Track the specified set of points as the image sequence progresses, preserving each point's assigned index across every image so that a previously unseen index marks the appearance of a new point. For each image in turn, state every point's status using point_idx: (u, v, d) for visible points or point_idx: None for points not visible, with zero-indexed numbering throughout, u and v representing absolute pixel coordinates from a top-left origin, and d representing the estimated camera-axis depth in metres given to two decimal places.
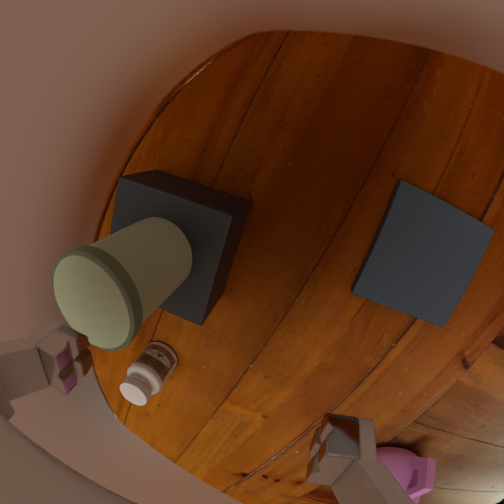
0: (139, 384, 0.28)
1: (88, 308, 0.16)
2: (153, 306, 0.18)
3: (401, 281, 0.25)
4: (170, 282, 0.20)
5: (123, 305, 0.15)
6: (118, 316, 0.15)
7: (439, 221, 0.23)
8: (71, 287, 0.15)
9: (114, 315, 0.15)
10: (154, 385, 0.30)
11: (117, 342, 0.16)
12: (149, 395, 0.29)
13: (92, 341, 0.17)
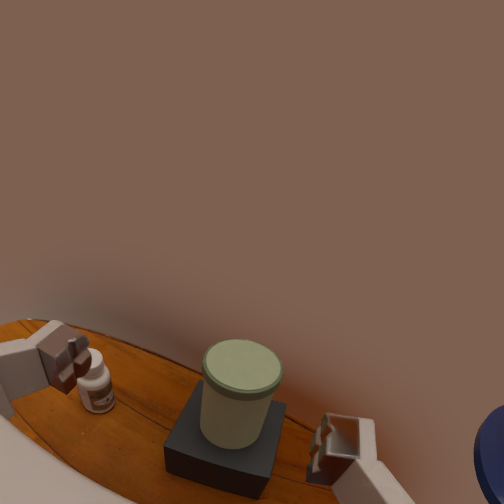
0: (97, 370, 0.28)
1: (240, 362, 0.23)
2: (226, 410, 0.22)
3: None
4: (232, 427, 0.22)
5: (252, 387, 0.21)
6: (240, 382, 0.21)
7: None
8: (254, 354, 0.24)
9: (240, 379, 0.22)
10: (87, 381, 0.28)
11: (216, 374, 0.21)
12: None
13: (210, 355, 0.23)
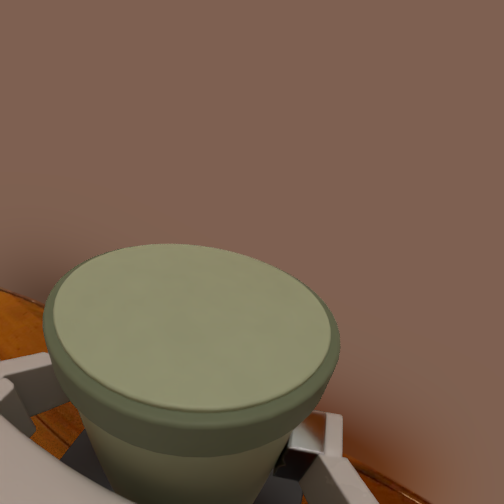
0: None
1: (182, 295, 0.06)
2: (127, 468, 0.05)
3: None
4: None
5: (210, 398, 0.04)
6: (160, 367, 0.04)
7: None
8: (235, 278, 0.08)
9: (164, 357, 0.05)
10: None
11: (67, 326, 0.05)
12: None
13: (86, 269, 0.07)
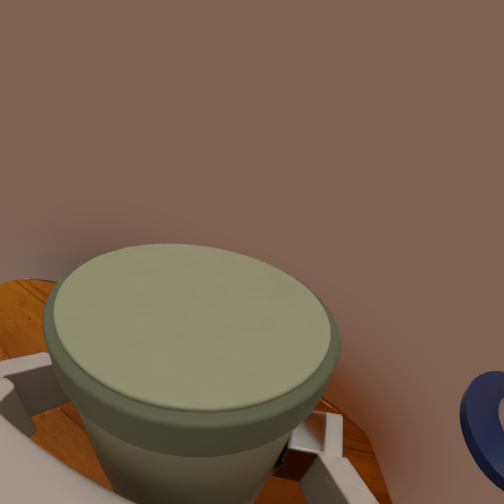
0: None
1: (182, 294, 0.06)
2: (127, 468, 0.05)
3: None
4: None
5: (211, 398, 0.04)
6: (160, 367, 0.04)
7: None
8: (235, 278, 0.08)
9: (164, 356, 0.05)
10: None
11: (67, 326, 0.05)
12: None
13: (86, 269, 0.07)
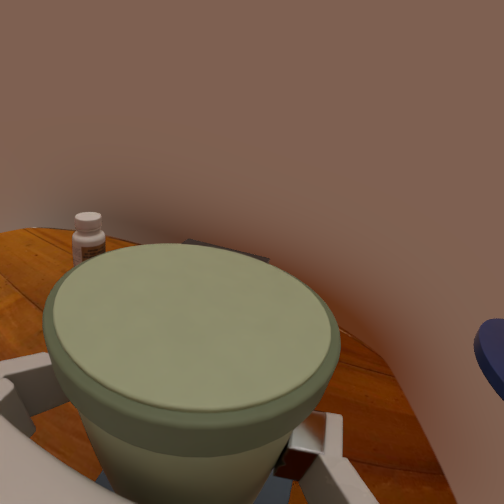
0: (95, 224, 0.32)
1: (182, 295, 0.06)
2: (127, 468, 0.05)
3: None
4: None
5: (211, 399, 0.04)
6: (160, 367, 0.04)
7: None
8: (235, 278, 0.08)
9: (164, 357, 0.05)
10: (83, 237, 0.32)
11: (67, 326, 0.05)
12: (81, 226, 0.32)
13: (86, 269, 0.07)
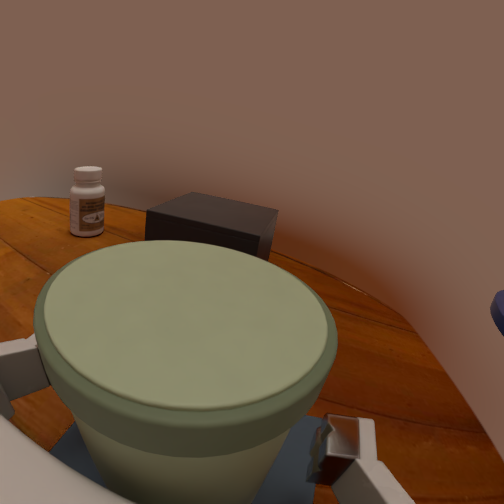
0: (95, 175, 0.30)
1: (175, 291, 0.06)
2: (119, 468, 0.05)
3: None
4: None
5: (201, 396, 0.04)
6: (150, 363, 0.04)
7: (272, 487, 0.10)
8: (230, 274, 0.07)
9: (154, 353, 0.05)
10: (82, 189, 0.30)
11: (57, 321, 0.04)
12: (80, 177, 0.29)
13: (79, 265, 0.06)
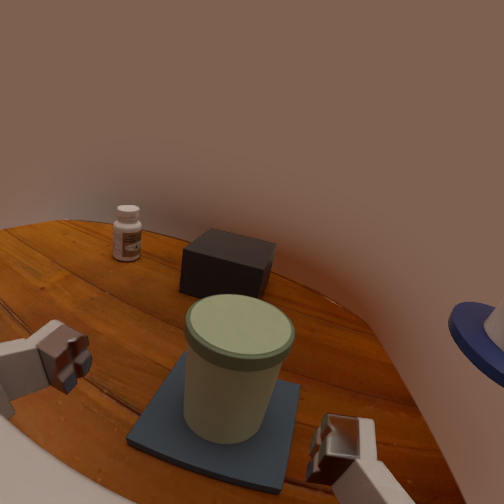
0: (135, 214, 0.42)
1: (237, 320, 0.18)
2: (216, 386, 0.16)
3: None
4: (224, 412, 0.17)
5: (253, 351, 0.15)
6: (236, 344, 0.16)
7: (272, 418, 0.21)
8: (255, 311, 0.19)
9: (237, 341, 0.16)
10: (125, 225, 0.41)
11: (202, 333, 0.16)
12: (123, 215, 0.41)
13: (196, 310, 0.18)
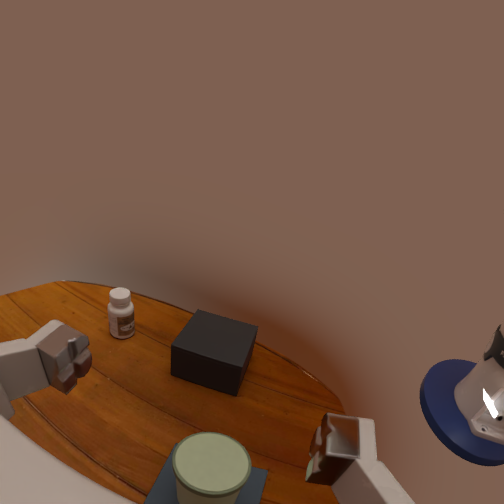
0: (126, 300, 0.44)
1: (209, 461, 0.20)
2: (196, 499, 0.19)
3: None
4: None
5: (218, 489, 0.18)
6: (207, 482, 0.18)
7: (242, 499, 0.24)
8: (223, 451, 0.21)
9: (207, 480, 0.19)
10: (118, 309, 0.44)
11: (184, 475, 0.18)
12: (116, 302, 0.43)
13: (179, 453, 0.20)
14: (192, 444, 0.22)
